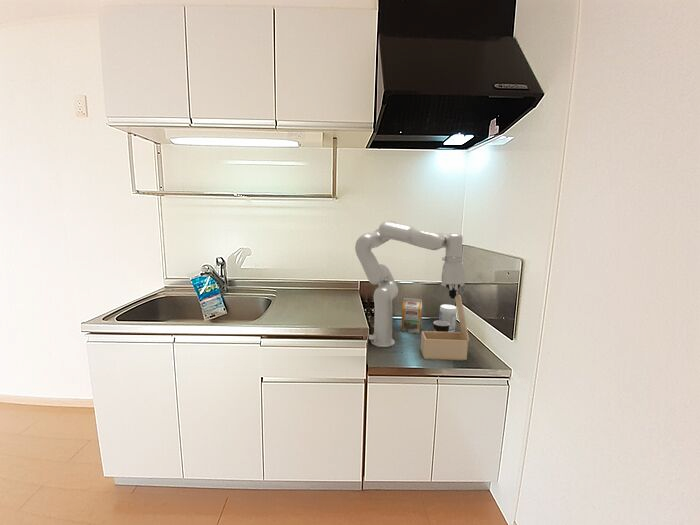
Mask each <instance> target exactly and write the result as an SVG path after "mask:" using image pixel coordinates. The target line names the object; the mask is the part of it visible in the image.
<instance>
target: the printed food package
mask: <svg viewBox="0 0 700 525" xmlns="http://www.w3.org/2000/svg"><path fill="white" fill-rule="evenodd" d="M422 316H423V300H422V299H417V298H406V297H404V298H403V302H402V308H401V325H400V326H401V327H400V328H401V333H405V332H407V333H408V334H414V333H416V334H417V335H420V334H421V332H422V320H423V317H422ZM407 333H406V334H407Z"/></svg>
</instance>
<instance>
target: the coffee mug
mask: <svg viewBox="0 0 700 525" xmlns="http://www.w3.org/2000/svg"><path fill="white" fill-rule="evenodd" d="M432 324H433V331H434V332H448V331H449V325H450V323H448V322H446V321H439V320H434V321H433V323H432Z"/></svg>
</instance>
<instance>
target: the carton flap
mask: <svg viewBox="0 0 700 525" xmlns="http://www.w3.org/2000/svg"><path fill="white" fill-rule="evenodd" d="M454 300H455V304H456V305H455V306H456V307H457V315H458V316H457V317H458V321H459V326H460V332H462V333H463V335H464V336H465V337H466V339H467V340H468V342H469V341H470V338H469V332H468V326H467V320H466V317H465V311H464V307H463V301H462V300H463V299H462V296H461V295H460V294H459V293H458V292H457V291H456V296H455V299H454Z"/></svg>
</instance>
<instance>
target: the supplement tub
mask: <svg viewBox="0 0 700 525" xmlns="http://www.w3.org/2000/svg"><path fill="white" fill-rule="evenodd" d="M457 313H458V311H457V306H456V305H452V304H445V303H444V304H441V305H440V306H439V314H438V315H439V316H438V318H439V319H438V321H446V322H448V323H450V325H449V331H448V332H456V322H457Z"/></svg>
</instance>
